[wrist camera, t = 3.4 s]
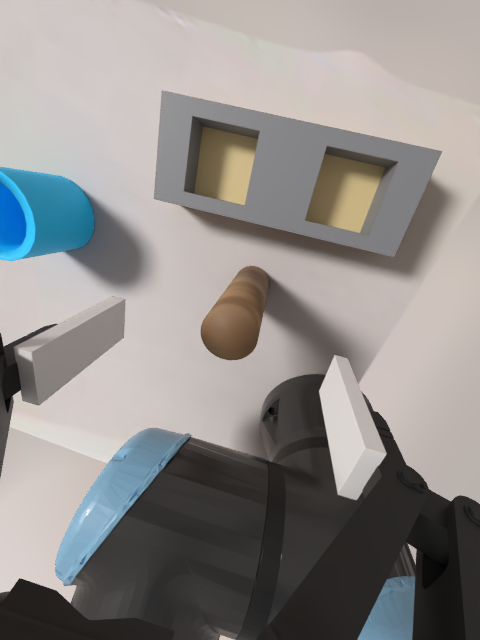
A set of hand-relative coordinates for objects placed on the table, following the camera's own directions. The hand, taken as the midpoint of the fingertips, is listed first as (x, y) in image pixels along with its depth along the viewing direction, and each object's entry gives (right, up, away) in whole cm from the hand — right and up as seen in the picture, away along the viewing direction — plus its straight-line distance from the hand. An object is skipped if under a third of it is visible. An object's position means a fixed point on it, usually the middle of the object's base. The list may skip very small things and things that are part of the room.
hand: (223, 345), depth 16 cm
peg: (+2, +6, +15) cm, 16 cm away
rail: (+5, +15, +10) cm, 19 cm away
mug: (-22, +15, +15) cm, 31 cm away
